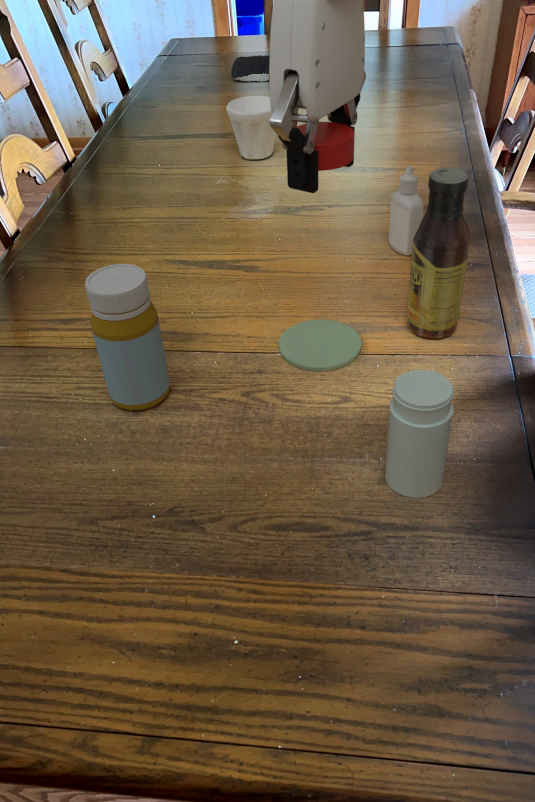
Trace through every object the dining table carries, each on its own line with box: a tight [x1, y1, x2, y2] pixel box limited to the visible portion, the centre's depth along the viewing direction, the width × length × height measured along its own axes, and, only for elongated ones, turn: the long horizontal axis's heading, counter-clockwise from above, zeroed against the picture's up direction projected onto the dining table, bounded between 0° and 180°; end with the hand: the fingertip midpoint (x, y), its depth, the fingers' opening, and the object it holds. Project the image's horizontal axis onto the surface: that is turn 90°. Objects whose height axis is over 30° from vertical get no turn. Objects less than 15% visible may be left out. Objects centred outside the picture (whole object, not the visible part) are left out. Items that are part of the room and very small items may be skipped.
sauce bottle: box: [406, 166, 471, 340], centre depth 82 cm, size 6×6×20 cm
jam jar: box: [384, 369, 455, 499], centre depth 66 cm, size 6×6×11 cm
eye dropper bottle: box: [388, 166, 424, 257], centre depth 100 cm, size 4×6×12 cm
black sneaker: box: [231, 54, 270, 78], centre depth 173 cm, size 15×22×5 cm
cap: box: [297, 121, 355, 172], centre depth 70 cm, size 6×6×2 cm
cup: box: [225, 95, 277, 159], centre depth 132 cm, size 10×10×9 cm
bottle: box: [84, 263, 171, 412], centre depth 77 cm, size 7×7×15 cm
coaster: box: [278, 318, 363, 372], centre depth 86 cm, size 10×10×1 cm
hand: (321, 175), depth 72 cm, fingers closed on cap, 6 cm apart
